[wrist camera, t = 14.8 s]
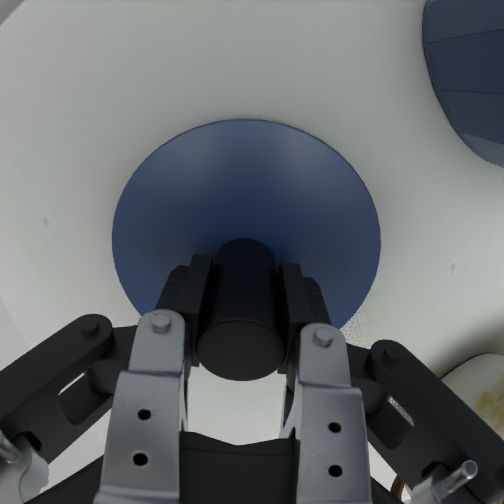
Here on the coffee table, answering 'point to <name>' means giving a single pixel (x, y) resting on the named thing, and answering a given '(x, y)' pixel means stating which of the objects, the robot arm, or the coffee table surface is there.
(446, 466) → the robot arm
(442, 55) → the pot
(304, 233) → the lid
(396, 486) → the sugar bowl
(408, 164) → the coffee table surface
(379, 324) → the coffee table surface
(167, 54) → the coffee table surface
